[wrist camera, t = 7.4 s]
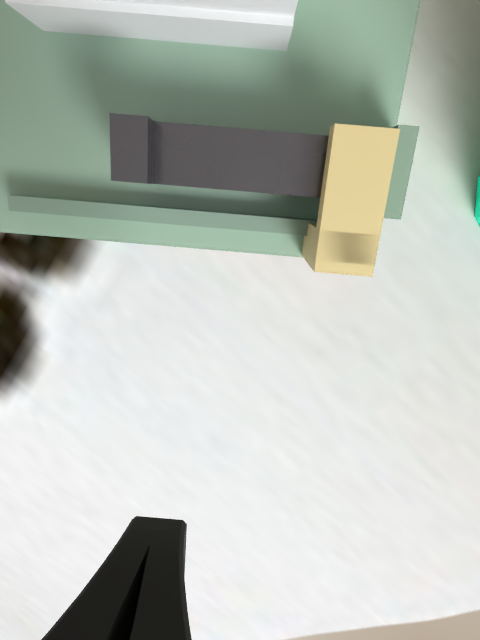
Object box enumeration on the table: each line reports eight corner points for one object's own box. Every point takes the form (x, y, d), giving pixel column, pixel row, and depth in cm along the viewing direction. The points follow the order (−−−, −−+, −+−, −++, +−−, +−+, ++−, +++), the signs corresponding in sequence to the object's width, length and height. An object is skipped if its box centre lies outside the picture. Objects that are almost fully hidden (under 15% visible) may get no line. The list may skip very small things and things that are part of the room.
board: (9, 229, 18) (-65, 243, 14) (-26, -117, 14) (-144, -245, 10) (366, 259, 18) (401, 282, 14) (427, -80, 14) (501, -193, 10)
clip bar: (137, 181, 16) (110, 180, 13) (137, 127, 15) (109, 112, 12) (360, 200, 16) (384, 203, 13) (368, 146, 15) (397, 136, 12)
